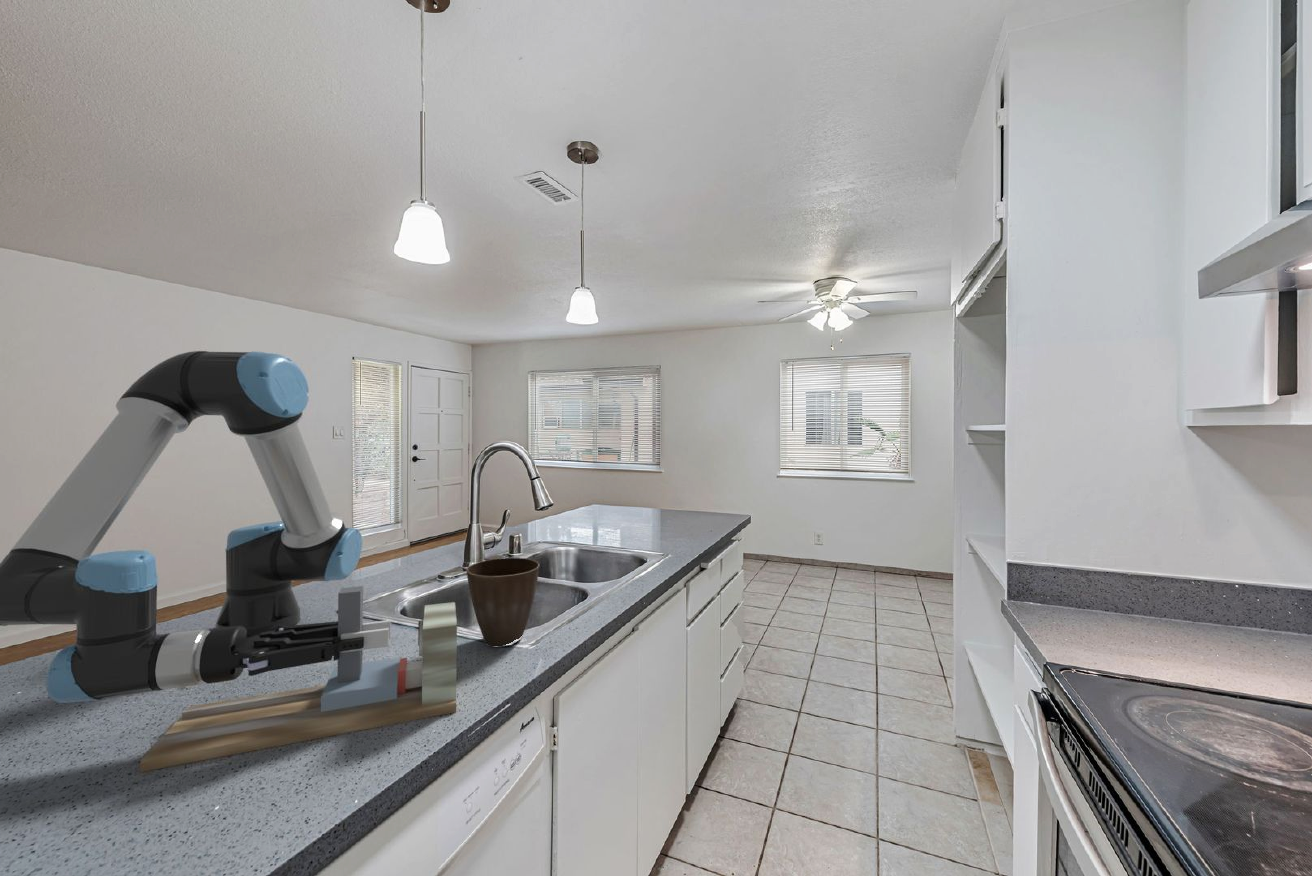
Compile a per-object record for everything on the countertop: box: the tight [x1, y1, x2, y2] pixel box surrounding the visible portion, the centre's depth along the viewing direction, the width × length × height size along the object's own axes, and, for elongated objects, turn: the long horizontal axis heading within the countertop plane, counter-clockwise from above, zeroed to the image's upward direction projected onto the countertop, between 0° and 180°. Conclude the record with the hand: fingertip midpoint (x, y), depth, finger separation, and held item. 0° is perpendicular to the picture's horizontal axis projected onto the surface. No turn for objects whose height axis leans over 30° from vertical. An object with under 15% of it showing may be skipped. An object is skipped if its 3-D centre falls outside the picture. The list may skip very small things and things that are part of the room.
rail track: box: [139, 601, 458, 773], centre depth 79 cm, size 14×38×14 cm, turn 113°
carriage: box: [321, 585, 402, 712], centre depth 81 cm, size 10×10×16 cm
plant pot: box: [466, 557, 540, 647], centre depth 108 cm, size 15×15×16 cm
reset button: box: [398, 657, 422, 695], centre depth 84 cm, size 5×7×4 cm
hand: (389, 632), depth 82 cm, fingers closed on carriage, 3 cm apart
